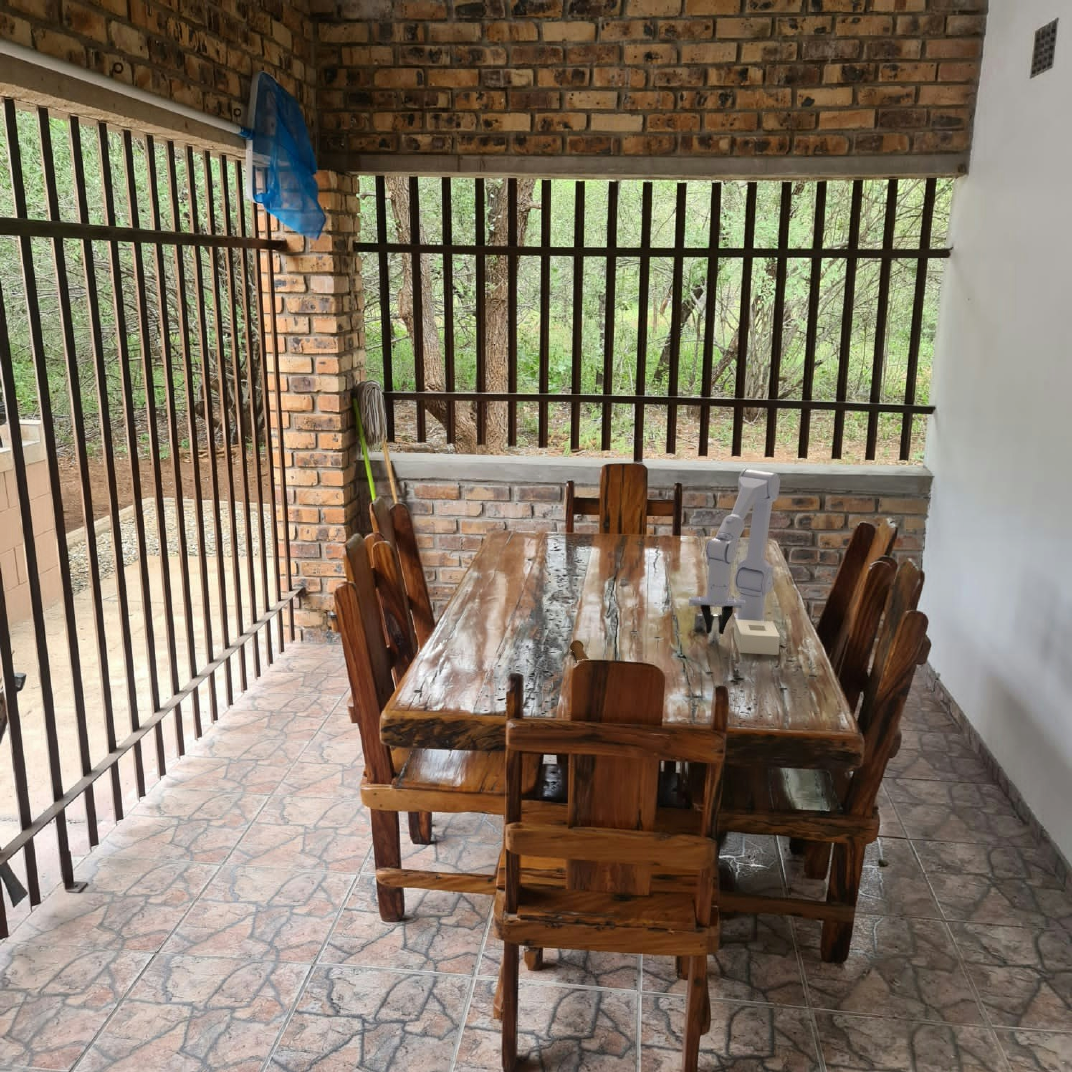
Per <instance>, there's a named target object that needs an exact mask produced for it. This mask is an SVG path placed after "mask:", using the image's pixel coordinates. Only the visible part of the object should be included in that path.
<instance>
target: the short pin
mask: <svg viewBox="0 0 1072 1072" xmlns="http://www.w3.org/2000/svg"><path fill="white" fill-rule="evenodd" d="M693 622H694V623H693V631H694V632H698V633H704V632H706V623H705V619H704V616H703V613H702V612H696V613H695V614H694V621H693Z"/></svg>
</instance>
